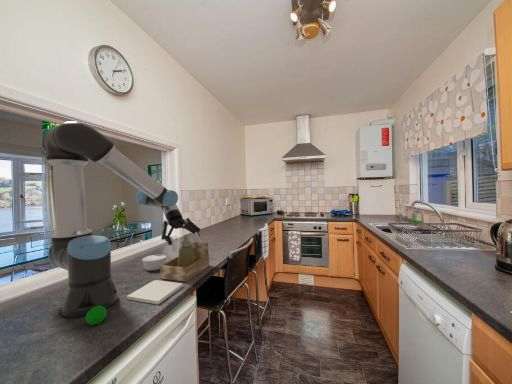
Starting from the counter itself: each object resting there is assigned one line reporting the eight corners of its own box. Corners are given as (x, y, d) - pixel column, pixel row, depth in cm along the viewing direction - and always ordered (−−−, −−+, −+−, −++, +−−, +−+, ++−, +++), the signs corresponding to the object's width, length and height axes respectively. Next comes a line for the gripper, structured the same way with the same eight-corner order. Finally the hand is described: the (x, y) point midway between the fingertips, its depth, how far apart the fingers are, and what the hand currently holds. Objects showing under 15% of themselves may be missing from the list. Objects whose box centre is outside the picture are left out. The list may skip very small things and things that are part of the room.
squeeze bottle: (174, 273, 99) (173, 235, 99) (186, 267, 106) (186, 232, 106) (186, 276, 95) (185, 237, 95) (198, 270, 102) (197, 234, 102)
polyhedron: (110, 317, 64) (110, 302, 64) (98, 328, 60) (98, 311, 59) (94, 318, 64) (93, 303, 64) (81, 328, 59) (80, 312, 59)
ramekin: (170, 263, 112) (170, 254, 112) (158, 272, 101) (158, 261, 101) (151, 263, 113) (150, 254, 113) (137, 271, 102) (137, 260, 102)
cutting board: (126, 299, 75) (126, 296, 75) (155, 282, 89) (155, 279, 89) (158, 304, 71) (158, 301, 71) (183, 286, 85) (182, 283, 85)
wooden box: (159, 278, 93) (159, 252, 92) (186, 263, 112) (186, 241, 112) (186, 282, 89) (185, 254, 89) (209, 265, 108) (208, 242, 108)
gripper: (190, 215, 120) (206, 245, 111) (145, 221, 102) (160, 257, 92) (195, 207, 117) (212, 237, 107) (150, 211, 98) (165, 247, 88)
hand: (188, 246), depth 99 cm, fingers open, 13 cm apart
